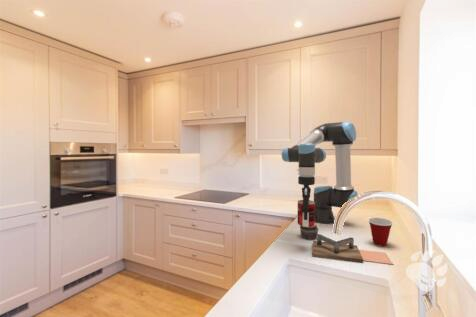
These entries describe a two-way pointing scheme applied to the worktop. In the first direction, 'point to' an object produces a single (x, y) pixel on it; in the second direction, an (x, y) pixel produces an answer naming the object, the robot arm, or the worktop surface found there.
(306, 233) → the cupcake
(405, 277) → the worktop surface
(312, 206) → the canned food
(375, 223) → the plastic cup
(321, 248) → the wire board
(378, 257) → the mat
